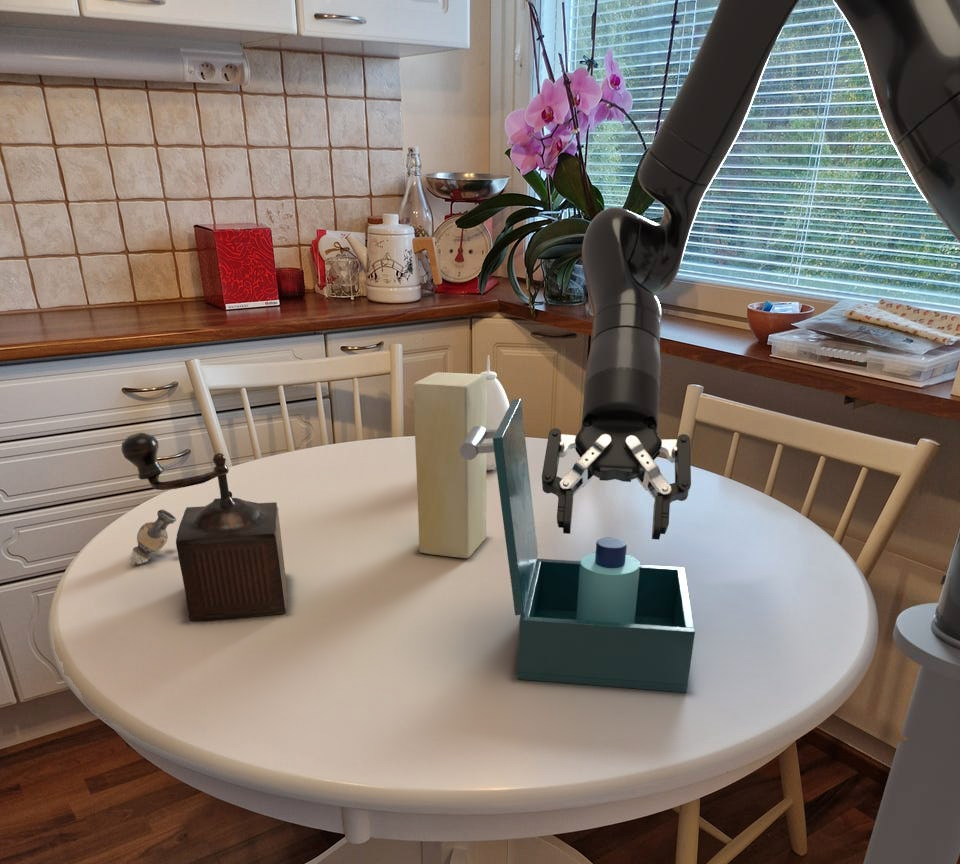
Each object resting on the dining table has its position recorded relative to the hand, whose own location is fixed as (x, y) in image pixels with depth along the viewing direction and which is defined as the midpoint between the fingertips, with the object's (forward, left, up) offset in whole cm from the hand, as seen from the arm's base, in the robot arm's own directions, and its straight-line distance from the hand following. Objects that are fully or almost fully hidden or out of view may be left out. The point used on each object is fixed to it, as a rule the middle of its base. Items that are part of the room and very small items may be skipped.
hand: (611, 533), depth 81 cm
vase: (+55, -13, -12) cm, 58 cm away
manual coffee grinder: (+43, -3, -12) cm, 45 cm away
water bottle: (0, +3, -11) cm, 11 cm away
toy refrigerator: (+20, -23, -12) cm, 33 cm away
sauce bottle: (+20, -57, -12) cm, 62 cm away
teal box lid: (+9, +2, +3) cm, 9 cm away
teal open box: (0, +2, -12) cm, 12 cm away
